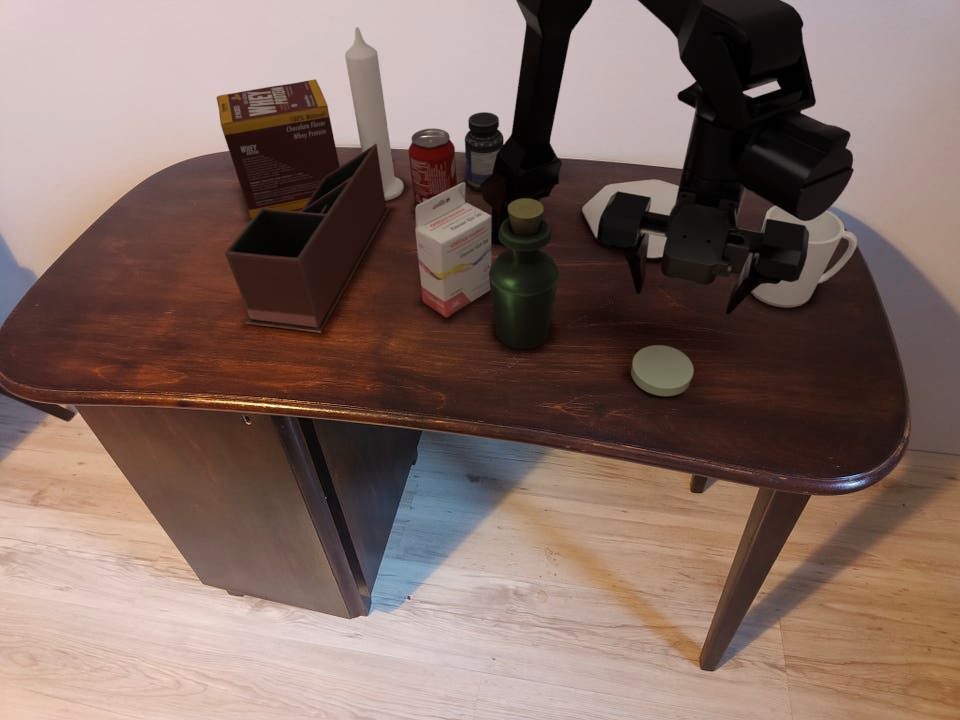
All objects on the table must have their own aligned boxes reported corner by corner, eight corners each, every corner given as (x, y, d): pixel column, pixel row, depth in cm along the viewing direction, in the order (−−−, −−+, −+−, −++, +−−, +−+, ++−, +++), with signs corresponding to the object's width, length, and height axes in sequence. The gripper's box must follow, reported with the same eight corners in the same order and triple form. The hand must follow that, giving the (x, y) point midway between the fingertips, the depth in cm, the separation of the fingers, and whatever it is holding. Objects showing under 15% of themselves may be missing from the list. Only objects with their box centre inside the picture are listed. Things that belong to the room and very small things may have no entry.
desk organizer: (245, 325, 82) (217, 254, 74) (328, 203, 102) (313, 137, 94) (322, 335, 81) (301, 263, 72) (391, 209, 100) (381, 142, 92)
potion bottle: (507, 364, 76) (508, 238, 63) (479, 322, 81) (474, 199, 68) (567, 343, 78) (579, 217, 65) (536, 304, 83) (541, 181, 71)
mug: (740, 302, 83) (763, 236, 75) (745, 262, 88) (767, 197, 81) (832, 320, 80) (865, 253, 72) (831, 278, 86) (861, 211, 78)
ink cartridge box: (447, 320, 82) (438, 222, 71) (422, 302, 84) (410, 206, 74) (494, 289, 86) (492, 192, 75) (468, 273, 88) (463, 178, 78)
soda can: (453, 223, 97) (447, 150, 89) (410, 219, 98) (401, 146, 90) (462, 199, 102) (458, 127, 93) (421, 196, 103) (414, 125, 94)
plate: (622, 176, 105) (623, 168, 104) (739, 213, 97) (741, 204, 96) (560, 234, 94) (561, 225, 93) (686, 280, 86) (689, 271, 85)
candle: (401, 201, 102) (379, 36, 84) (357, 202, 102) (326, 37, 84) (405, 178, 107) (385, 17, 89) (364, 179, 107) (335, 19, 89)
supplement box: (347, 199, 103) (328, 104, 92) (250, 219, 100) (218, 123, 88) (336, 169, 110) (316, 77, 99) (245, 187, 106) (214, 94, 95)
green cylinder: (623, 391, 73) (625, 378, 71) (637, 352, 77) (640, 338, 75) (683, 408, 71) (687, 395, 69) (694, 367, 75) (698, 354, 73)
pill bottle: (472, 172, 108) (469, 108, 100) (507, 175, 107) (507, 111, 99) (462, 190, 104) (459, 126, 96) (499, 194, 103) (498, 129, 95)
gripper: (588, 192, 53) (574, 328, 65) (828, 236, 48) (768, 377, 59) (621, 133, 61) (603, 265, 72) (833, 166, 55) (779, 304, 66)
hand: (682, 301), depth 67 cm, fingers open, 9 cm apart
